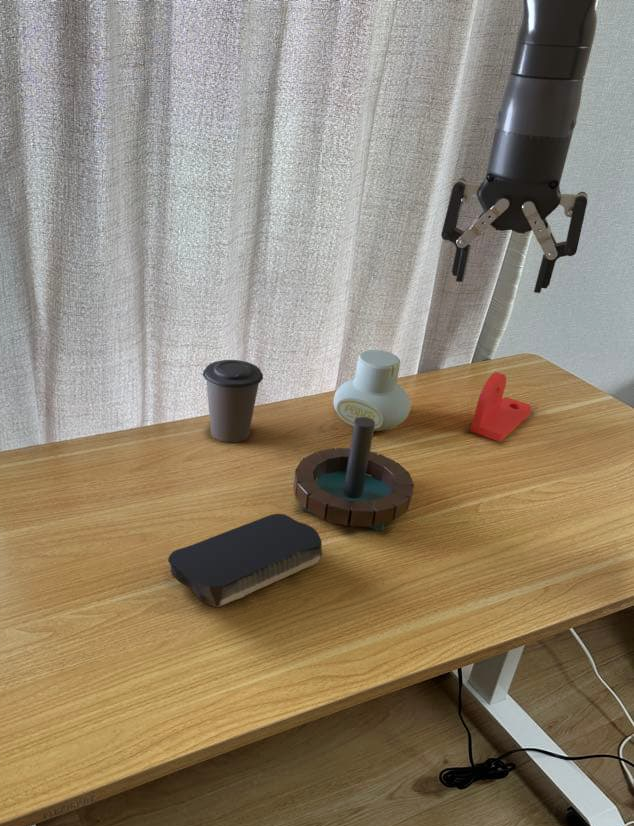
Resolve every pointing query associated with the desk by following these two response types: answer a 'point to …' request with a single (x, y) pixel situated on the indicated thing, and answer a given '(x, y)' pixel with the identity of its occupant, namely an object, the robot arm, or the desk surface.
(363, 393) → the air freshener
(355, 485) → the post stand
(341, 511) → the ring
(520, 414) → the bracket
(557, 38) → the robot arm
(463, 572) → the desk surface
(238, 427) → the coffee cup
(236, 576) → the black board eraser
